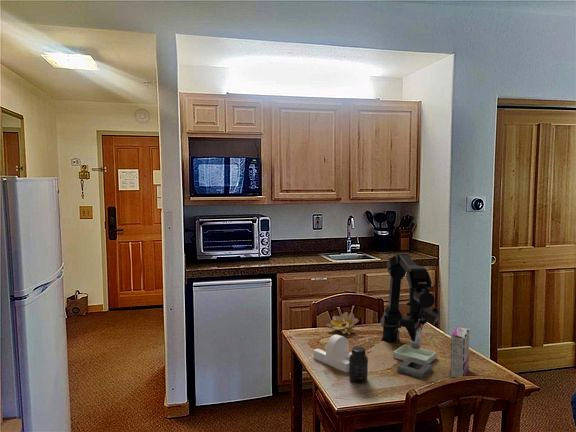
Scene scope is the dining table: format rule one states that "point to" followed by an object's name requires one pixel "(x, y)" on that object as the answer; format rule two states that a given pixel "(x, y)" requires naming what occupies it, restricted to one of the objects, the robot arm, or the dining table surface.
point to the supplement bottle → (358, 365)
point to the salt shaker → (417, 338)
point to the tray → (414, 354)
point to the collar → (407, 369)
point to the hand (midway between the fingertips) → (415, 339)
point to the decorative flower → (344, 322)
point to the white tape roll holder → (335, 353)
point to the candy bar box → (459, 352)
